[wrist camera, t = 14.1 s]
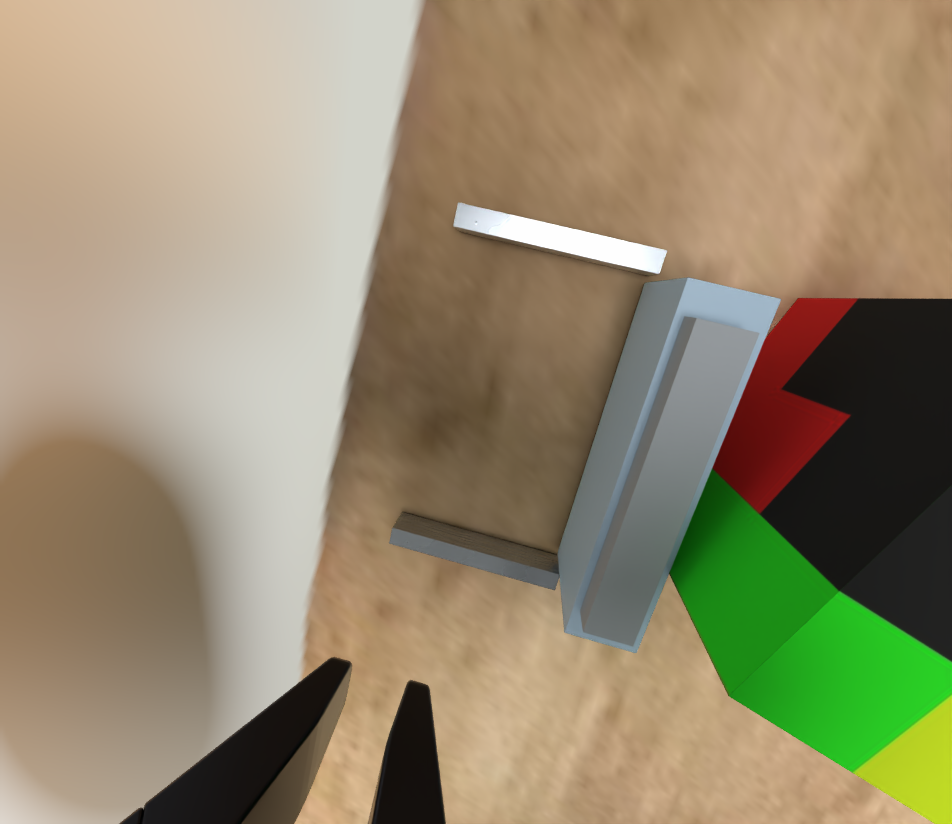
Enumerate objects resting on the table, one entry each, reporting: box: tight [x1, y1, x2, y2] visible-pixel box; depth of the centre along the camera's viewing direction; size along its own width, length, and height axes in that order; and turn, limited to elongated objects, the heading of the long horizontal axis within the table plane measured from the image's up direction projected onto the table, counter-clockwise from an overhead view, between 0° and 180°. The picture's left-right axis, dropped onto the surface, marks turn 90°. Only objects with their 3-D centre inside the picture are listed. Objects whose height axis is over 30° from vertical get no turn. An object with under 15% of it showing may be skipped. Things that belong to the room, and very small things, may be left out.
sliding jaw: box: [558, 278, 781, 653], centre depth 16 cm, size 12×3×6 cm, turn 167°
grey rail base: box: [389, 203, 667, 590], centre depth 16 cm, size 14×25×5 cm, turn 77°
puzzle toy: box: [669, 298, 952, 824], centre depth 13 cm, size 10×10×10 cm
